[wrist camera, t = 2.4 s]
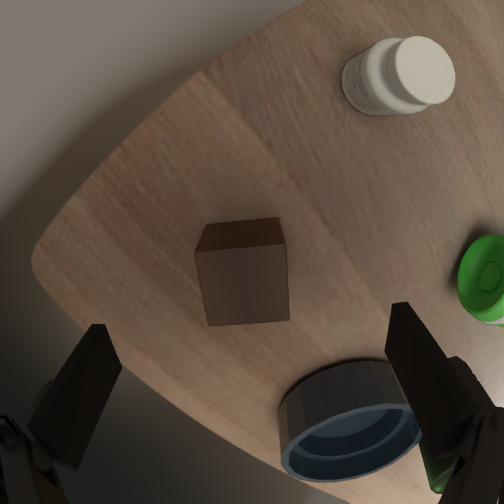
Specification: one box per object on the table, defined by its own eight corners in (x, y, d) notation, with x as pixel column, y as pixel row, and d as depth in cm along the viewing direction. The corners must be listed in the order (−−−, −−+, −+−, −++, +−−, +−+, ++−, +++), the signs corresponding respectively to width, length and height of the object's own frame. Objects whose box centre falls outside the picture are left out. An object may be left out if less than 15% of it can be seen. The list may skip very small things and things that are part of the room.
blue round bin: (261, 436, 31) (262, 480, 25) (306, 347, 26) (317, 399, 20) (368, 442, 32) (379, 479, 27) (429, 362, 27) (453, 402, 22)
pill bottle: (400, 63, 17) (463, 44, 10) (396, 121, 19) (460, 124, 12) (342, 48, 17) (386, 13, 10) (336, 108, 19) (382, 101, 11)
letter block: (216, 288, 24) (208, 326, 19) (206, 224, 22) (193, 251, 17) (283, 282, 23) (289, 320, 19) (278, 217, 22) (286, 243, 17)
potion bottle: (395, 433, 32) (433, 550, 15) (438, 392, 29) (497, 514, 13) (432, 437, 33) (471, 535, 17) (471, 398, 30) (525, 499, 14)
